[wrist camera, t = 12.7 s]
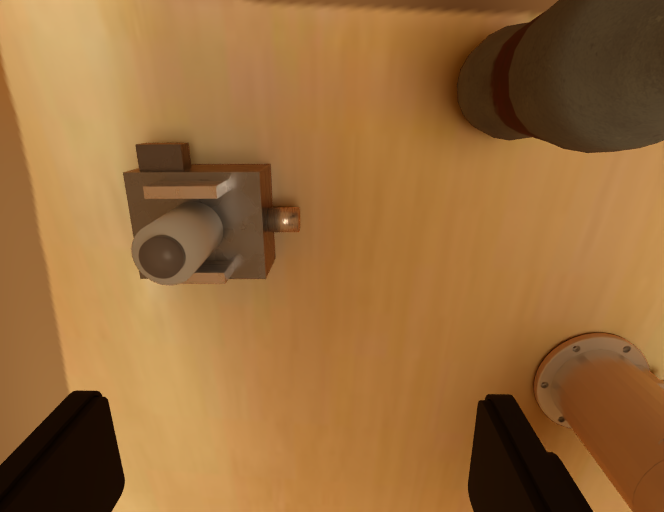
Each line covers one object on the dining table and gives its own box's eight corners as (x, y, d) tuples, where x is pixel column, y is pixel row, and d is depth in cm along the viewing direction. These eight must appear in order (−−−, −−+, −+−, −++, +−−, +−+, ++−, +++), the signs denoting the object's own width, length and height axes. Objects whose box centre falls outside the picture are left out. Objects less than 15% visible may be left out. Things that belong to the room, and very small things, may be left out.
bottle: (434, 119, 41) (650, 133, 12) (474, 17, 38) (878, -278, 9) (523, 150, 41) (923, 233, 13) (569, 53, 38) (1212, -119, 10)
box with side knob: (299, 140, 41) (288, 147, 33) (303, 258, 45) (294, 291, 37) (148, 141, 42) (99, 148, 33) (165, 258, 46) (125, 291, 37)
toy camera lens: (222, 203, 37) (191, 228, 30) (224, 255, 39) (195, 291, 32) (166, 199, 37) (122, 223, 30) (170, 252, 39) (130, 287, 32)
